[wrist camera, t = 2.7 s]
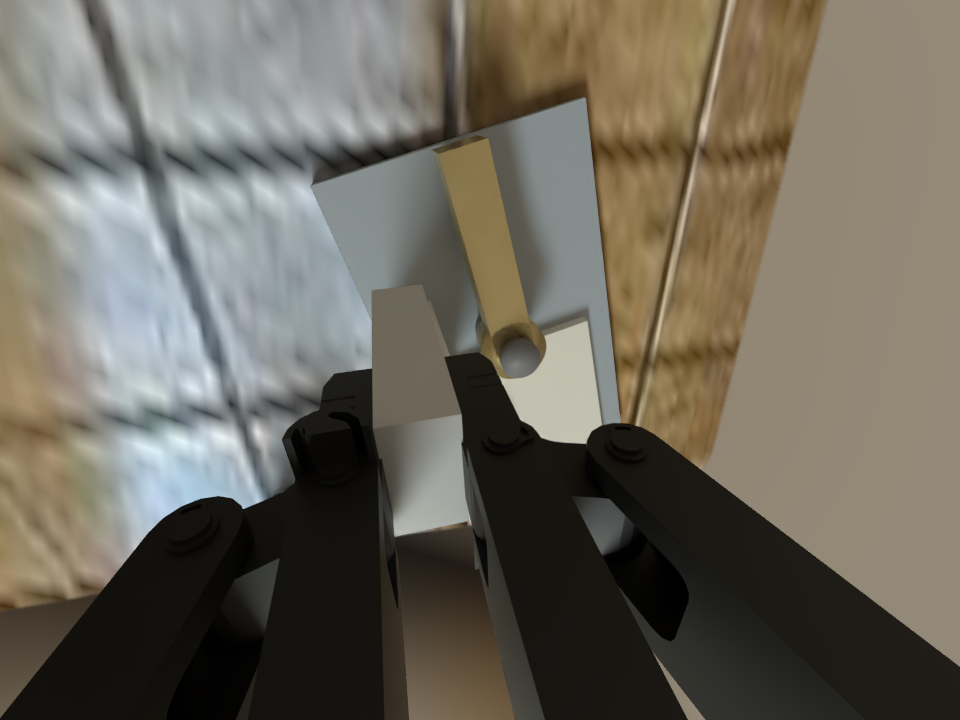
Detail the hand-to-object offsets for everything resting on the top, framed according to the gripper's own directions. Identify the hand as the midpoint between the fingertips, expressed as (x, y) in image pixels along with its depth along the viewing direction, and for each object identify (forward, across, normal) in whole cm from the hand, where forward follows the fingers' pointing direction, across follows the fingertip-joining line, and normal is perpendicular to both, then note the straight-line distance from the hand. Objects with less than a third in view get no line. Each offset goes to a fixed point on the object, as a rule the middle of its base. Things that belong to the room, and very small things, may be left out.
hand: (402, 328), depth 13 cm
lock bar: (+13, +6, -3) cm, 14 cm away
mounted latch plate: (+15, +7, -9) cm, 19 cm away
